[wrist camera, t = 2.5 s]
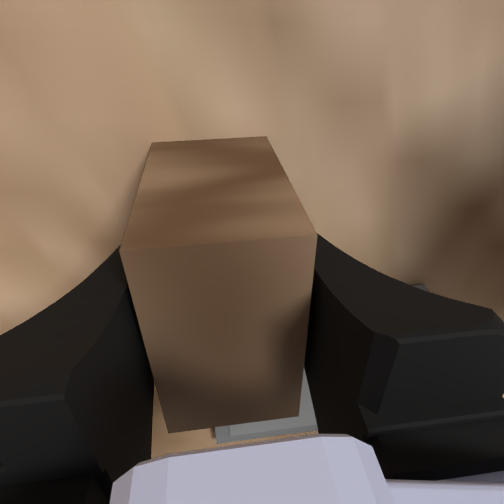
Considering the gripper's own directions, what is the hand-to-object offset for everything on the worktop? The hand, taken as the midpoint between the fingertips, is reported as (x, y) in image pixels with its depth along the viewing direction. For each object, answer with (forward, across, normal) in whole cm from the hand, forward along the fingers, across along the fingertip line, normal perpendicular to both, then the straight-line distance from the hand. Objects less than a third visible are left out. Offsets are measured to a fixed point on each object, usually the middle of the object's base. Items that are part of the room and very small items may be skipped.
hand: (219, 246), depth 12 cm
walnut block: (+2, 0, 0) cm, 2 cm away
